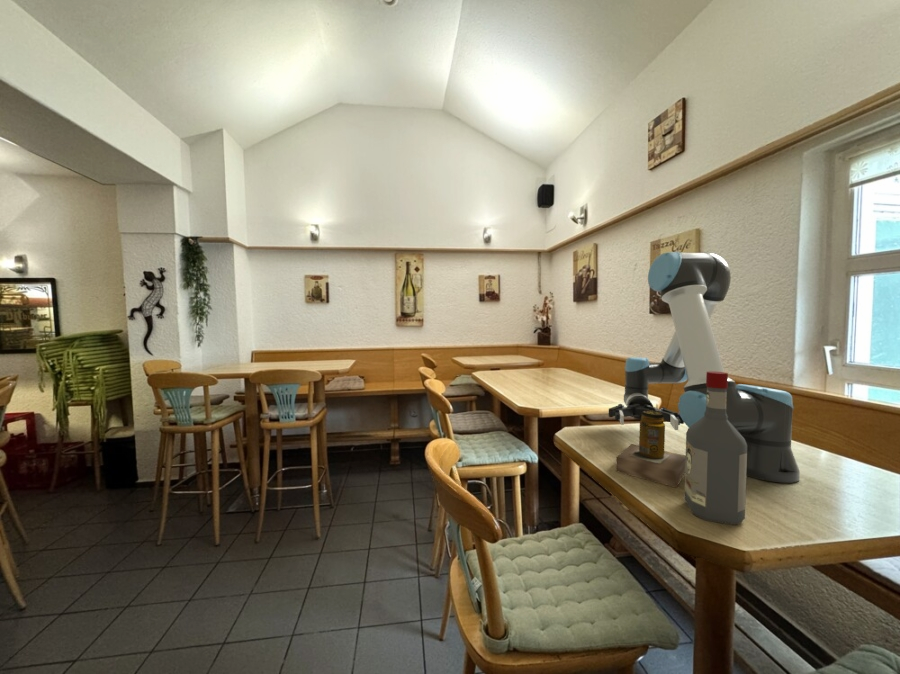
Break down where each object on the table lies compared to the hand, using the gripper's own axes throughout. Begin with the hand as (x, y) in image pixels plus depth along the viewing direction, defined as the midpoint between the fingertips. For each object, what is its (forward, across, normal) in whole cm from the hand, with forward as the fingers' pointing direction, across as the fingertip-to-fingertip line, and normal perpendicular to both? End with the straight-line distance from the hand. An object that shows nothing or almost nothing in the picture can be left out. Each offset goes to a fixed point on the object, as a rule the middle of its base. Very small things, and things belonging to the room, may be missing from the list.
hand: (648, 422), depth 100 cm
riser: (+4, 0, -12) cm, 13 cm away
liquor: (+24, -9, -12) cm, 28 cm away
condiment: (+4, 0, -8) cm, 9 cm away
